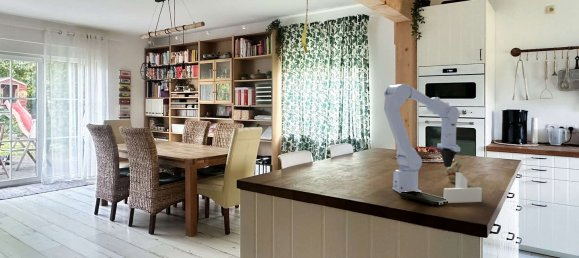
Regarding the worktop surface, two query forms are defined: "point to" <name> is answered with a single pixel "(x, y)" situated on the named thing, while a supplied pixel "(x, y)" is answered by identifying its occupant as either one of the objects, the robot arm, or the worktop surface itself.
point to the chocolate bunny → (453, 171)
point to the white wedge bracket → (460, 181)
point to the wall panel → (463, 195)
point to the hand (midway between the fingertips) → (447, 166)
